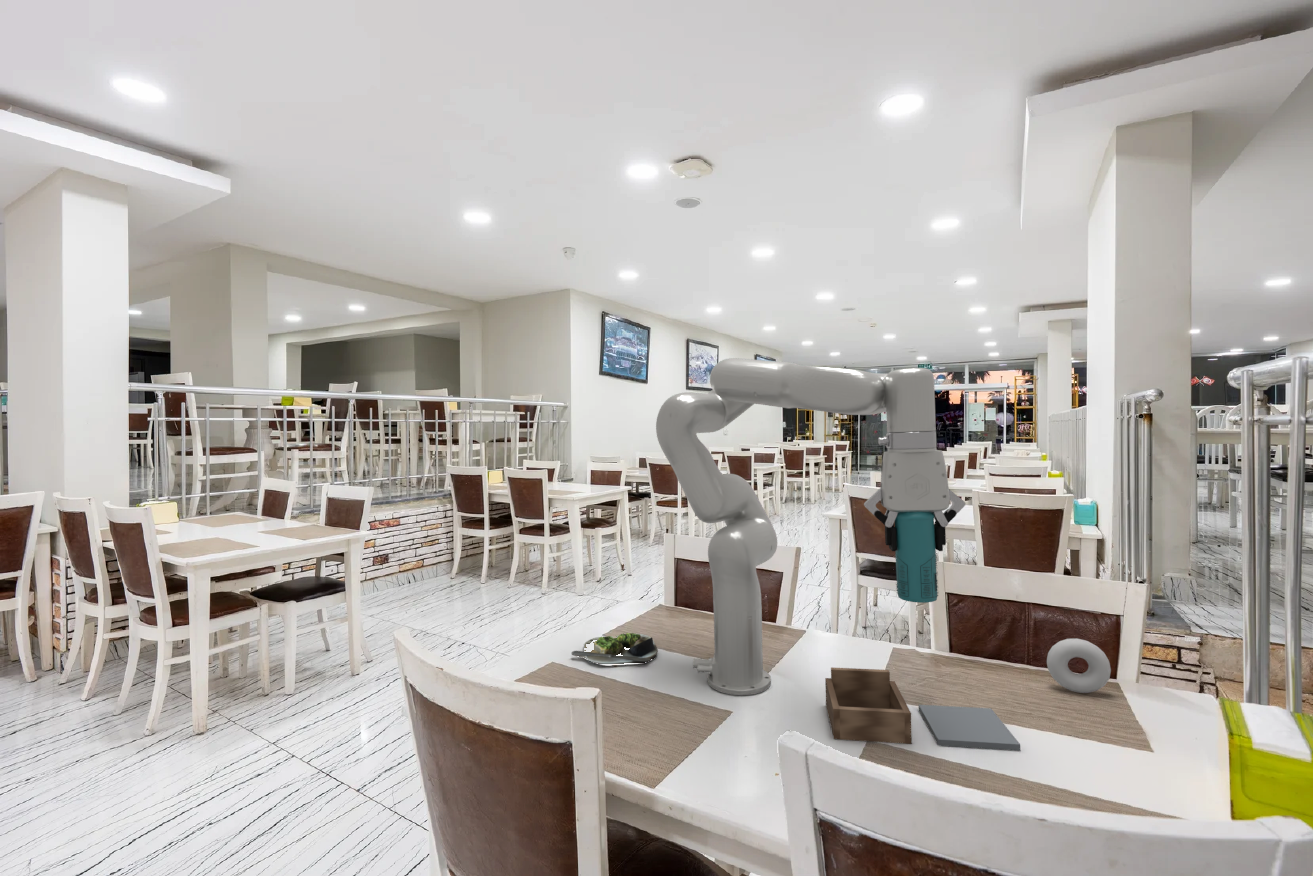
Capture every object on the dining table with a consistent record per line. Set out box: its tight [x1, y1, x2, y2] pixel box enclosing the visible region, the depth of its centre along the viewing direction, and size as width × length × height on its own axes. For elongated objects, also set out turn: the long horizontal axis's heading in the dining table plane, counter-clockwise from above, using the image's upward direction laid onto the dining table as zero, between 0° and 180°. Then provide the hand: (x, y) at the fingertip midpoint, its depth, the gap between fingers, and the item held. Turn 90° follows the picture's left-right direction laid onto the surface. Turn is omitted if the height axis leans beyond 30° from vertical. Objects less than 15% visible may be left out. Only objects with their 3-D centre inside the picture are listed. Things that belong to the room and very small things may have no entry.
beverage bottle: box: [894, 512, 939, 604], centre depth 101 cm, size 6×7×20 cm
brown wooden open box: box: [824, 666, 912, 745], centre depth 103 cm, size 12×12×7 cm
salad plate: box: [571, 632, 659, 664], centre depth 137 cm, size 19×18×5 cm
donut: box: [1046, 638, 1112, 694], centre depth 113 cm, size 10×4×10 cm, turn 65°
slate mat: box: [917, 704, 1021, 752], centre depth 101 cm, size 12×12×1 cm
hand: (915, 548), depth 101 cm, fingers closed on beverage bottle, 6 cm apart
